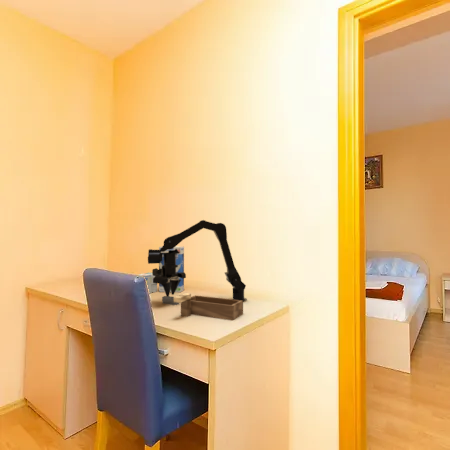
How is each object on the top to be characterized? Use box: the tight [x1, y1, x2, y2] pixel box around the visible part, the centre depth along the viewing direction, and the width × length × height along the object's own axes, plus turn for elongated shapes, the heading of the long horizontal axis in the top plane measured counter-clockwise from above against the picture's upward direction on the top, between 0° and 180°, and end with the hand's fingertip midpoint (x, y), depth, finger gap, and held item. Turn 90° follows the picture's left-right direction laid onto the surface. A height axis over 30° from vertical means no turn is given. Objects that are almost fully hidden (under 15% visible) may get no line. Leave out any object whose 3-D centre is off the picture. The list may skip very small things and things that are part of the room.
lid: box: [161, 295, 180, 306], centre depth 152 cm, size 11×24×4 cm, turn 62°
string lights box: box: [158, 245, 185, 293], centre depth 183 cm, size 13×8×26 cm, turn 82°
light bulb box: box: [138, 271, 158, 294], centre depth 178 cm, size 11×7×11 cm, turn 149°
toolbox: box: [180, 295, 244, 321], centre depth 133 cm, size 14×24×6 cm, turn 62°
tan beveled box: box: [173, 292, 192, 304], centre depth 129 cm, size 8×3×2 cm, turn 152°
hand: (170, 295), depth 152 cm, fingers open, 4 cm apart
